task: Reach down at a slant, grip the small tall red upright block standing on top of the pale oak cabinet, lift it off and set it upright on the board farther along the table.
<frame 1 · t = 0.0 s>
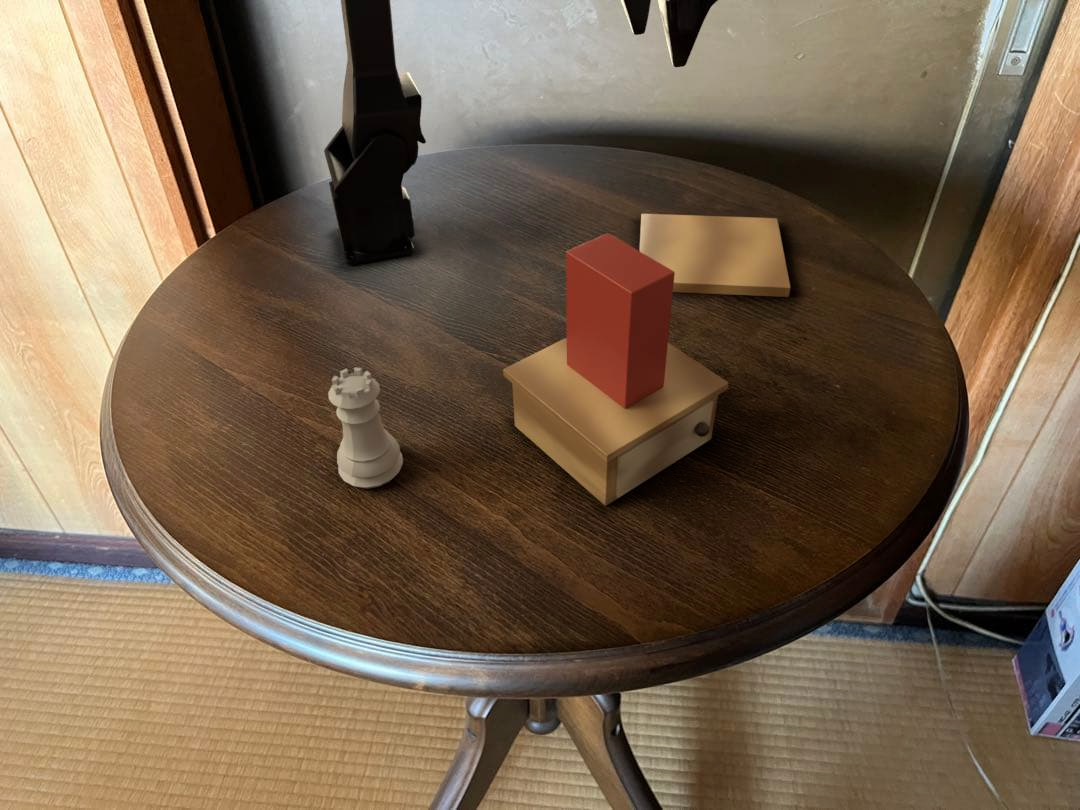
hand: (658, 49, 76), 15 cm above the table, tool pointing down, fingers open, 9 cm apart
rook chess piece: (372, 470, 58), on the table
board: (709, 257, 77), on the table
tall red upright block: (614, 375, 56), point 5 cm above the table, touching cabinet
cabinet: (611, 432, 60), on the table
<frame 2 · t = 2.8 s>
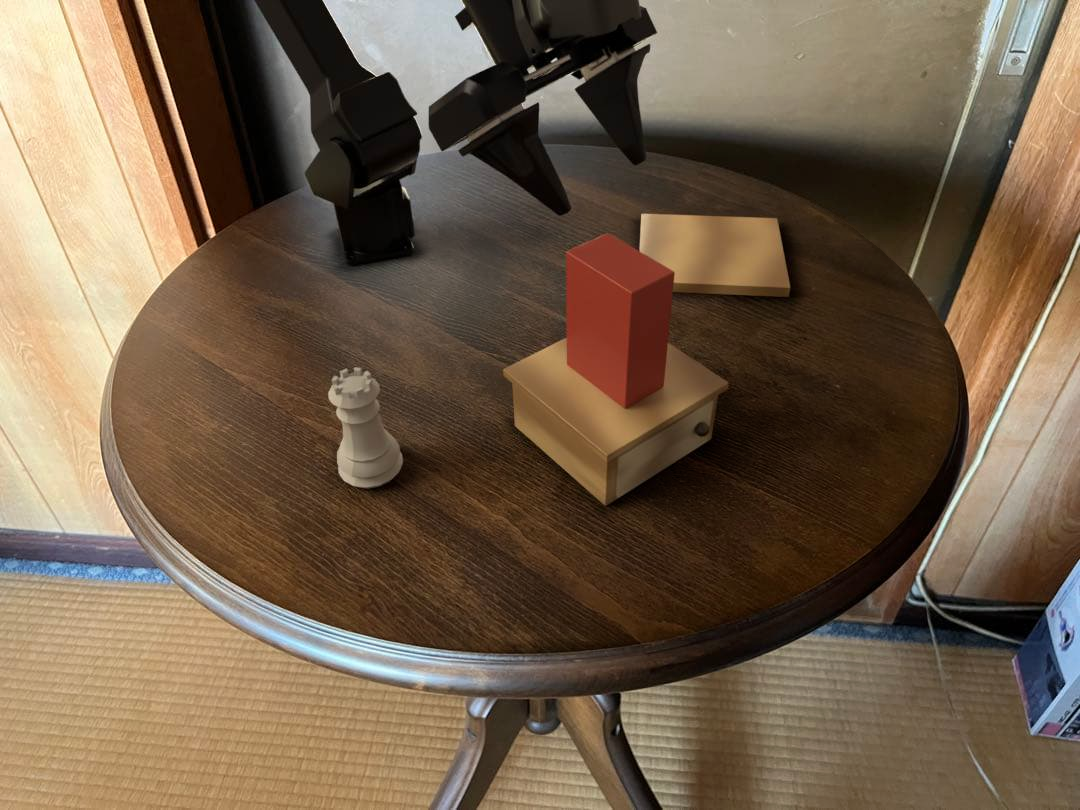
hand: (604, 187, 59), 14 cm above the table, tool tilted 35°, fingers open, 9 cm apart
nothing on the table moved.
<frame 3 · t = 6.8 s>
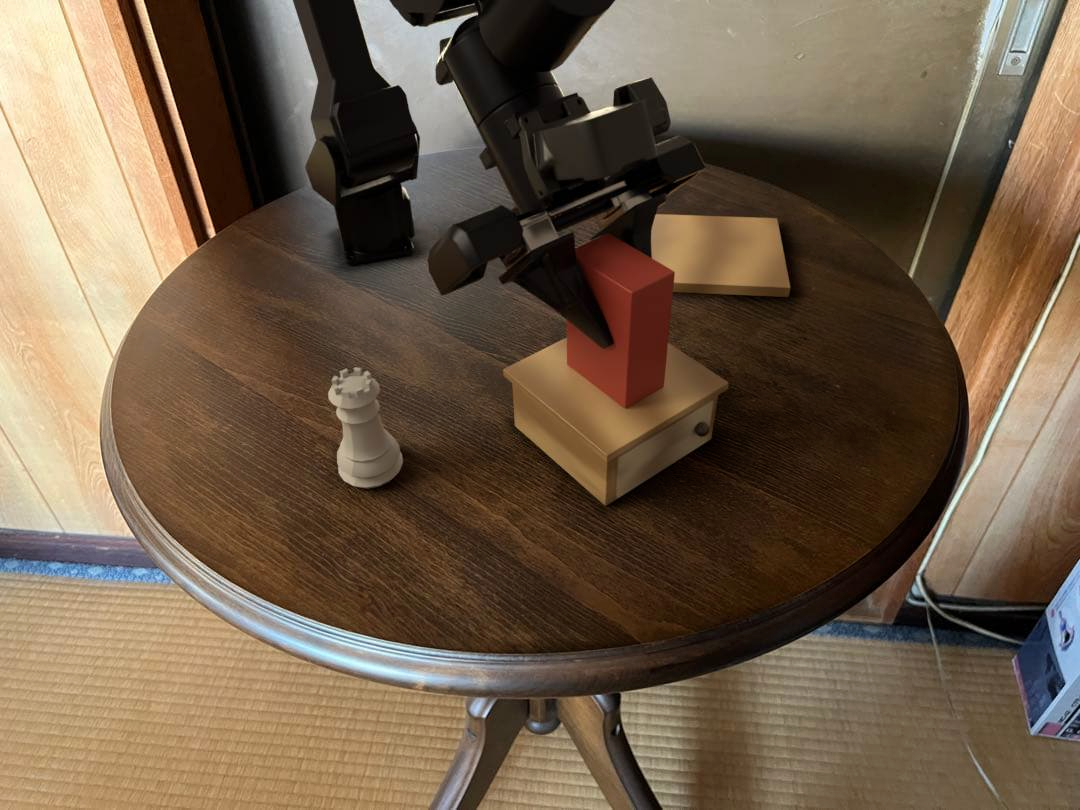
hand: (631, 334, 53), 10 cm above the table, tool tilted 45°, fingers closed on tall red upright block, 3 cm apart
tall red upright block: (614, 375, 56), point 5 cm above the table, touching cabinet, gripper
everything else where it was.
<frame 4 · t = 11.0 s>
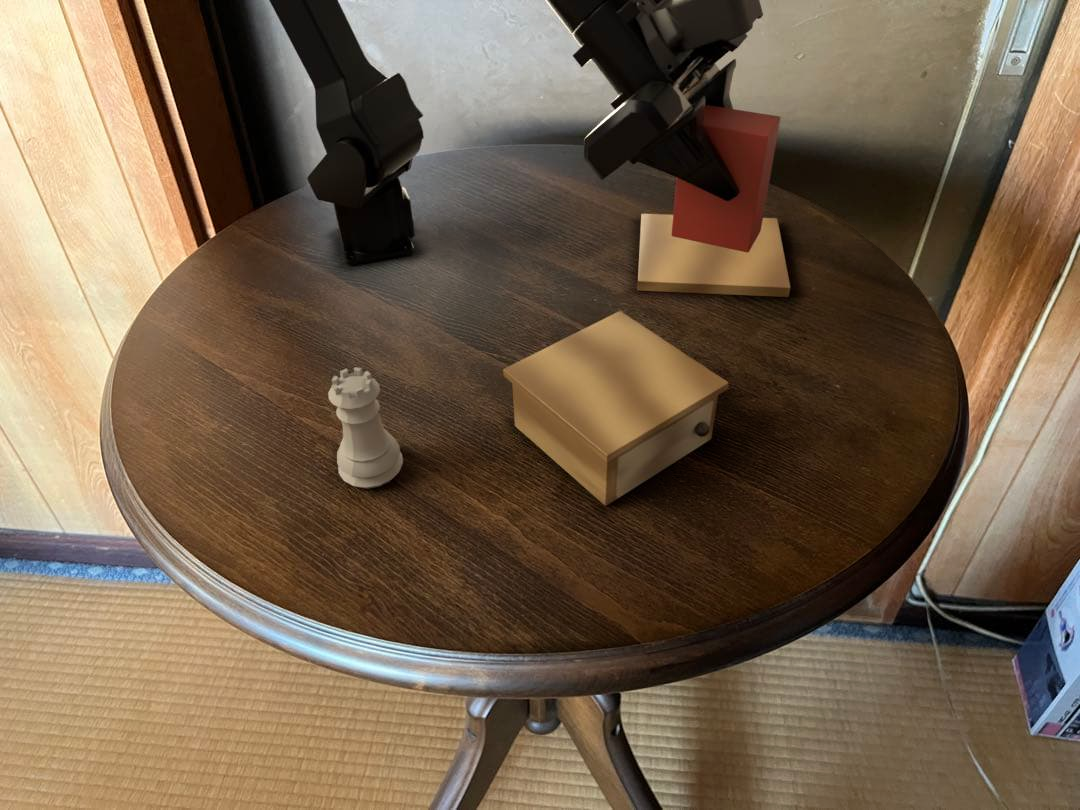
hand: (741, 185, 60), 13 cm above the table, tool tilted 45°, fingers closed on tall red upright block, 3 cm apart
tall red upright block: (715, 233, 63), point 9 cm above the table, touching gripper
everything else where it was.
when the fingers open (5 cm above the table, at t = 15.0 s): tall red upright block stays where it is, resting on board.
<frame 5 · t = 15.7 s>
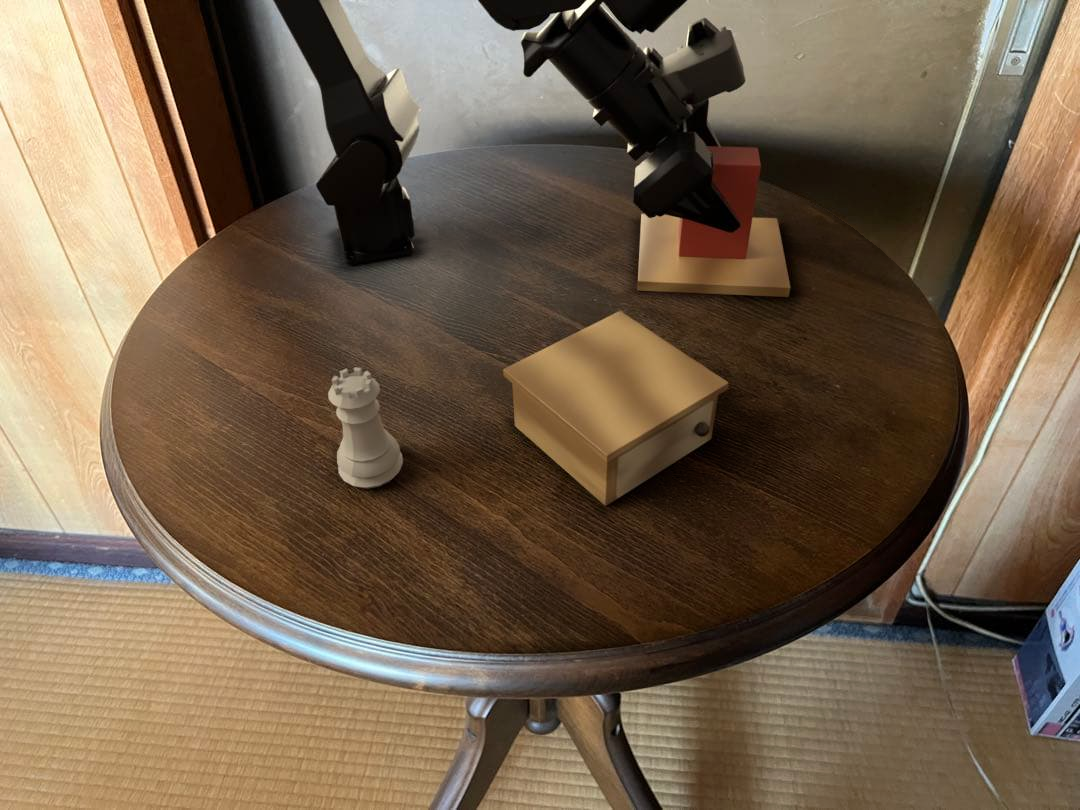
hand: (733, 202, 73), 6 cm above the table, tool tilted 45°, fingers open, 9 cm apart
tall red upright block: (711, 248, 76), point 1 cm above the table, touching board
everything else where it was.
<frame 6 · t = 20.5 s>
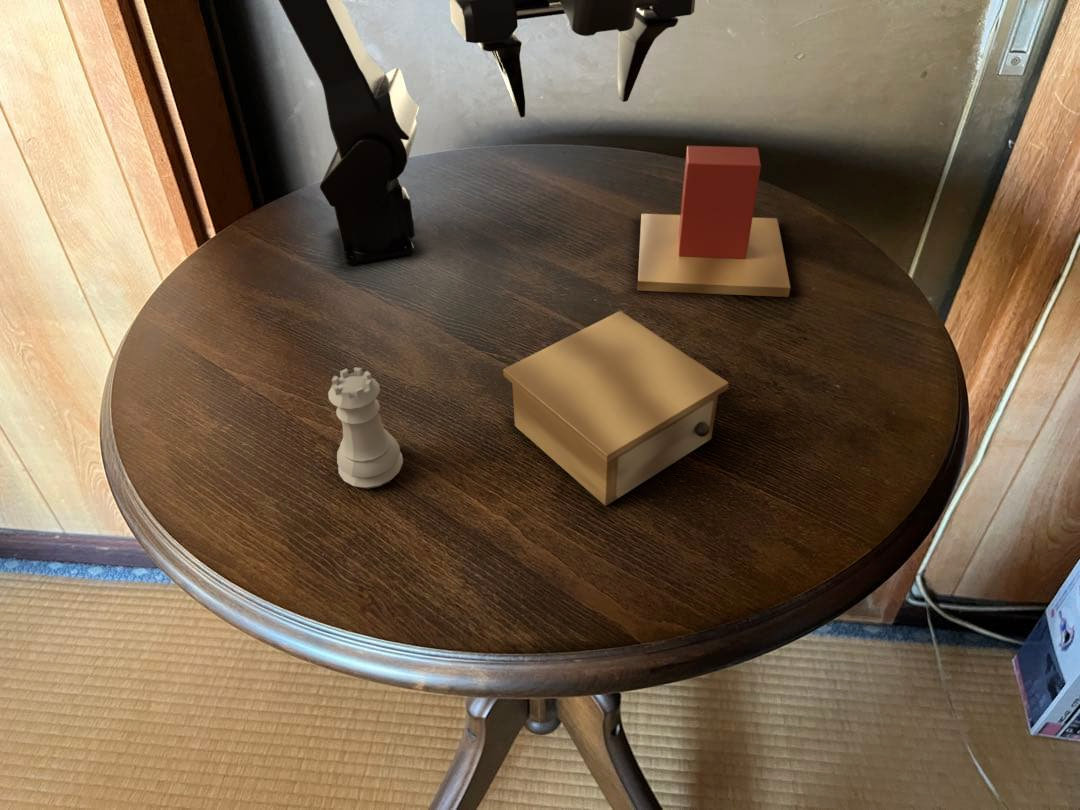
hand: (572, 107, 71), 13 cm above the table, tool pointing down, fingers open, 9 cm apart
nothing on the table moved.
at the end: tall red upright block inside the target area on the board (0.0 cm from its centre), point 1.0 cm above the board's base; tall red upright block tilted 0°; tall red upright block touching board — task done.
